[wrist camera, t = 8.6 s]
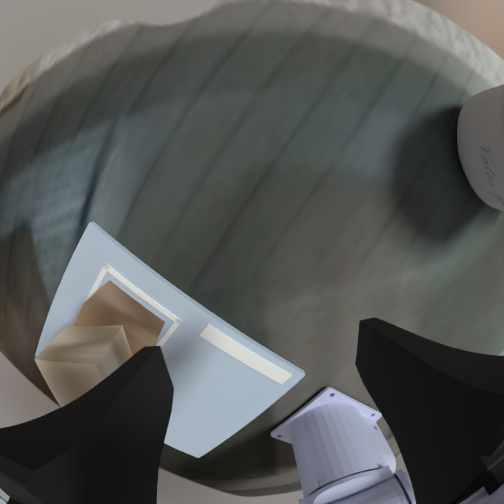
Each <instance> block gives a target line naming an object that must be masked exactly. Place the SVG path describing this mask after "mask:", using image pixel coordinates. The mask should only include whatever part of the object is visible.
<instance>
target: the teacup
mask: <svg viewBox="0 0 504 504" xmlns="http://www.w3.org/2000/svg"><path fill="white" fill-rule="evenodd" d="M457 147H458V153H459V158H460V161H461V165H462V167H463V170H464V172H465V174H466V177H467V179H468V181H469V183H470V185H471V187H472V188H473V190H474V191H475V193H476V194H477V195H478V197H479V198H481V199H482V200H483V201H484V202H485V203H486V204H487V205H489V206H491V207H493V208H495V209H497V210H500V211H504V85H500V86H497V87H494V88H491V89H488V90H485V91H483V92H480V93H478V94H476V95H474V96H472V97H471V98H470V99H469V100H468V101H467V102H466V103H465V104H464V105H463V107H462V109H461V111H460V115H459V118H458V125H457Z"/></svg>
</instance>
